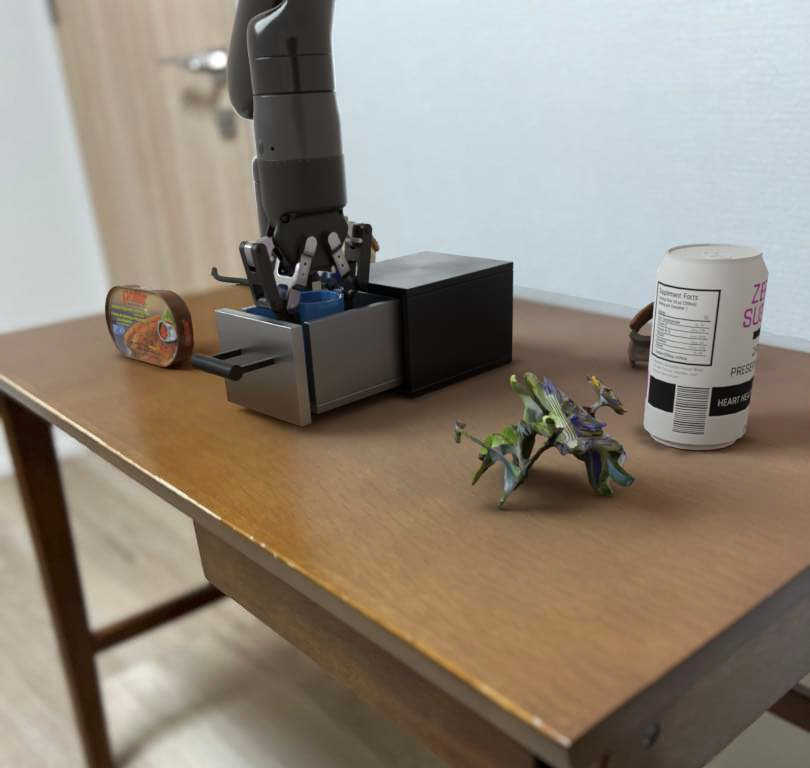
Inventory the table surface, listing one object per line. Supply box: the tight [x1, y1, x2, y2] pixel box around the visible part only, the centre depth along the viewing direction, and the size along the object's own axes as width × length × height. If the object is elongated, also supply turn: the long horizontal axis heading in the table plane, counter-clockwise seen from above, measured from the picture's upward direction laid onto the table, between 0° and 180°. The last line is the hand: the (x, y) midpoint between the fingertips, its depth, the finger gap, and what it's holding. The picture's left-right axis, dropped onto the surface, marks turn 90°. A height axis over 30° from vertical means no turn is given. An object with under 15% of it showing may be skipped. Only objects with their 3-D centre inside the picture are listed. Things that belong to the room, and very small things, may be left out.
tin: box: [104, 284, 195, 368], centre depth 101 cm, size 15×3×8 cm, turn 47°
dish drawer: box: [190, 288, 406, 428], centre depth 82 cm, size 19×11×9 cm, turn 135°
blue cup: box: [296, 290, 345, 373], centre depth 83 cm, size 6×6×6 cm
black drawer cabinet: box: [320, 250, 514, 400], centre depth 92 cm, size 16×13×11 cm
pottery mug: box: [627, 301, 654, 369], centre depth 91 cm, size 12×10×8 cm
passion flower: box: [453, 371, 636, 510], centre depth 63 cm, size 11×11×12 cm
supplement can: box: [643, 242, 769, 451], centre depth 71 cm, size 8×8×15 cm
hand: (318, 344), depth 83 cm, fingers closed on blue cup, 5 cm apart
